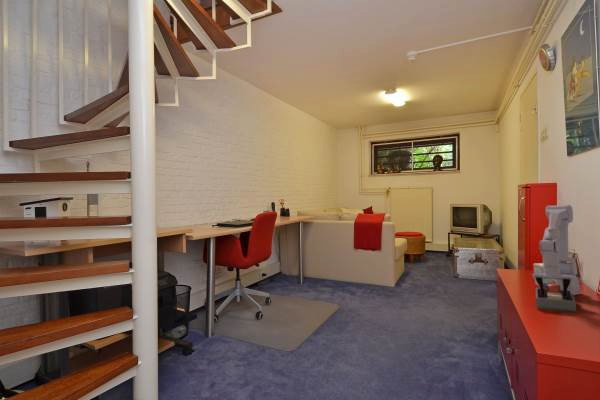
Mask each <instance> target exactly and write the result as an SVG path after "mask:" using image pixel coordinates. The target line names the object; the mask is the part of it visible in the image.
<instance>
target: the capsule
mask: <svg viewBox="0 0 600 400" xmlns="http://www.w3.org/2000/svg"><path fill="white" fill-rule="evenodd" d="M545 289H547V292H551V293H561V292H560V285H557V284H555V283H553V284H546V288H545ZM547 298H548V296H547Z"/></svg>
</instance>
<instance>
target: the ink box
mask: <svg viewBox="0 0 600 400" xmlns="http://www.w3.org/2000/svg"><path fill="white" fill-rule="evenodd" d="M533 272H534V273H533V274H544V266H543V262H540V263H536V262H535V263H533ZM542 280H543V288H544V289H546V284H554V282H553V281H554V279H542ZM534 281H535V285H536V286H538V287H540V286H539V284H538V283H537V281H536V278H534Z"/></svg>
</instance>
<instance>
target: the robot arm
mask: <svg viewBox="0 0 600 400" xmlns="http://www.w3.org/2000/svg"><path fill="white" fill-rule="evenodd" d="M545 215H546V217H547V219H548V227H545V229H544V233H543V237H542V240H539V243H538V244H539V250H540V255H541V256H542V263H543V266H544V274H534V273H532V279H535V278H536V281H537V283H538V284H539V286H538V287H539V288H541V290H542V294H544V289H545V288H543V280H542V279H552V280H554V284H557V285H560V290H563V295H564V296H566V291H567V290H571V291H572V294H573V296H576V295H581V294H583V292H581V289H580V280H579V278H578V277H577V273H578V266H577V262H576V260H575V259H574V258H572V256H571V257H570V256H569V223H570V224H571V223H573V219H574V210H573V207H572V205H571V204H567V205H565V204H564V205H563V204H561V205H546V207H545Z"/></svg>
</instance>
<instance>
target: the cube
mask: <svg viewBox="0 0 600 400" xmlns="http://www.w3.org/2000/svg"><path fill="white" fill-rule="evenodd" d="M547 296H548V299H559V300H562V294H561V293H551V292H547Z"/></svg>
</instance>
